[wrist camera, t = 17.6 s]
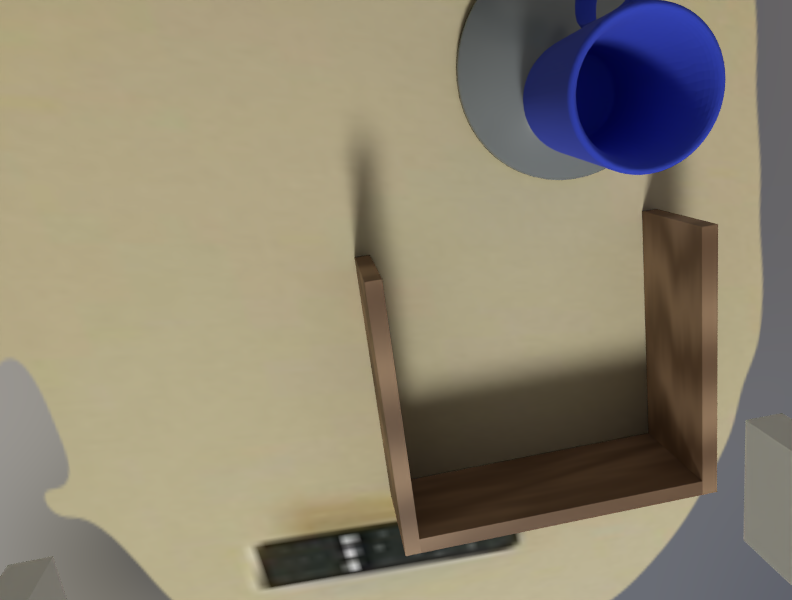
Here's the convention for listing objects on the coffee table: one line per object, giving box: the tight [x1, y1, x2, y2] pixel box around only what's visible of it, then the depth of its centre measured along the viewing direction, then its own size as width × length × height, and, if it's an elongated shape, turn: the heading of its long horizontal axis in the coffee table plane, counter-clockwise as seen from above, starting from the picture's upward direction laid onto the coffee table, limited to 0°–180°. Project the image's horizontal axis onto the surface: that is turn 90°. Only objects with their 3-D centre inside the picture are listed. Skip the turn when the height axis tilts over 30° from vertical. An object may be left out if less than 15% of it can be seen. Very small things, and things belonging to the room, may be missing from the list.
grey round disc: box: [456, 0, 625, 180], centre depth 41 cm, size 14×14×1 cm
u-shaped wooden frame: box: [355, 209, 718, 556], centre depth 43 cm, size 18×21×7 cm
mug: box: [523, 0, 725, 175], centre depth 36 cm, size 8×12×10 cm
